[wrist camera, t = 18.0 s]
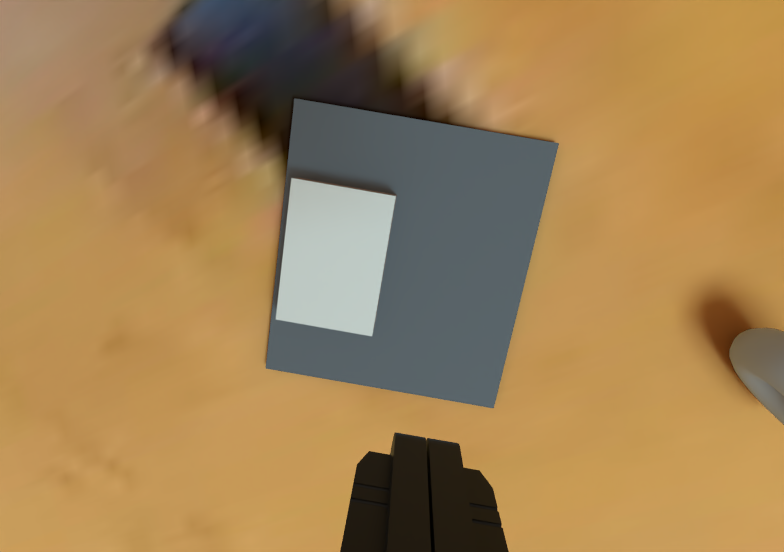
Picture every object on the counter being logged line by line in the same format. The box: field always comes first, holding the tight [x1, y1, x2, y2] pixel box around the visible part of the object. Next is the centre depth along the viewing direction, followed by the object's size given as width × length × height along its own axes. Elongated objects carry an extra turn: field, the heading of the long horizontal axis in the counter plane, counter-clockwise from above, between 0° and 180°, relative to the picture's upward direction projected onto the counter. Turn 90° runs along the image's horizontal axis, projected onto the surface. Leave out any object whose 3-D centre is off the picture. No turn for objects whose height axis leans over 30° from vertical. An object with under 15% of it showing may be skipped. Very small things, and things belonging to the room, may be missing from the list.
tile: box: [276, 178, 397, 336], centre depth 31 cm, size 10×2×7 cm
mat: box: [266, 98, 559, 408], centre depth 32 cm, size 20×18×1 cm
